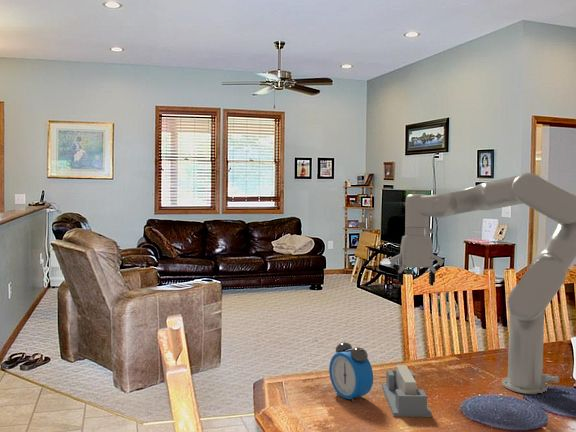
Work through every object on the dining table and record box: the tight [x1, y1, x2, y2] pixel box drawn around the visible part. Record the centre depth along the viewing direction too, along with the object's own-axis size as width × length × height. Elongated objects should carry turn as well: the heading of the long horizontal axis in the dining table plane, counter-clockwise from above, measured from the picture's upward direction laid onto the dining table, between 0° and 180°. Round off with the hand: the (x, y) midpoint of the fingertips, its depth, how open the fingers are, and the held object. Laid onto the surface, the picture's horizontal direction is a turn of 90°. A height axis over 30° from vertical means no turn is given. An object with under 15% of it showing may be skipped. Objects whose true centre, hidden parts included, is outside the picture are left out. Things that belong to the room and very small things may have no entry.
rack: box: [381, 369, 433, 418], centre depth 155 cm, size 10×21×6 cm, turn 179°
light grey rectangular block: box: [395, 364, 417, 395], centre depth 155 cm, size 3×14×7 cm, turn 179°
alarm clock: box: [328, 341, 374, 403], centre depth 158 cm, size 13×6×15 cm, turn 34°
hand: (416, 284), depth 179 cm, fingers open, 9 cm apart
